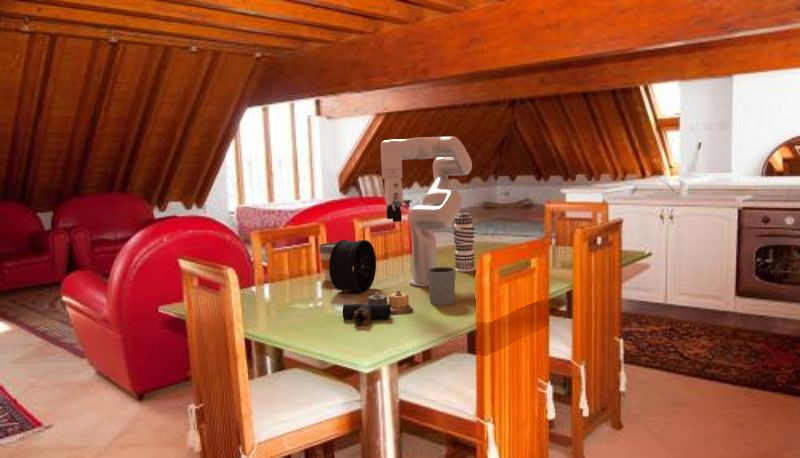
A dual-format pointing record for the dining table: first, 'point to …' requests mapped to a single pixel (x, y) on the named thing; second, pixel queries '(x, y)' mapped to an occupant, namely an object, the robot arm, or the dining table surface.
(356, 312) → the pipe connector
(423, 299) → the dining table surface
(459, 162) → the robot arm
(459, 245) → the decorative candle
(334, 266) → the car wheel rim
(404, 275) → the dining table surface
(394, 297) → the ochre gear
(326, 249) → the reusable coffee cup
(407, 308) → the board
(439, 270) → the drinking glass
